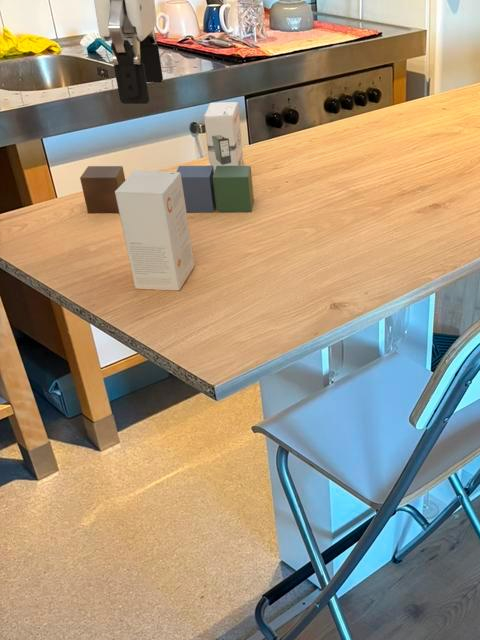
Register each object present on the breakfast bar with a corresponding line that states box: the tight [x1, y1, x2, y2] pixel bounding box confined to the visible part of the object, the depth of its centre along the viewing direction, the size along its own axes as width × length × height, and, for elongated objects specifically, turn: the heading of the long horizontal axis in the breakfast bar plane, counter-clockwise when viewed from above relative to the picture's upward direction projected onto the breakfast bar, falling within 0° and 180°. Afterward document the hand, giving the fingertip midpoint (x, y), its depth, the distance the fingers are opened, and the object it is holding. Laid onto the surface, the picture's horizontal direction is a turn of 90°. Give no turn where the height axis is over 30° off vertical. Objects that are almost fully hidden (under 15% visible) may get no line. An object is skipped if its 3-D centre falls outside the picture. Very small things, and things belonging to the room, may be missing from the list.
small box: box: [115, 170, 196, 292], centre depth 107 cm, size 8×6×13 cm
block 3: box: [213, 165, 255, 213], centre depth 130 cm, size 6×6×6 cm
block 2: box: [175, 165, 216, 213], centre depth 130 cm, size 6×6×6 cm
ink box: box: [203, 101, 245, 172], centre depth 137 cm, size 9×5×12 cm, turn 3°
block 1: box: [79, 165, 126, 214], centre depth 129 cm, size 6×6×6 cm
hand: (142, 91), depth 96 cm, fingers open, 9 cm apart
